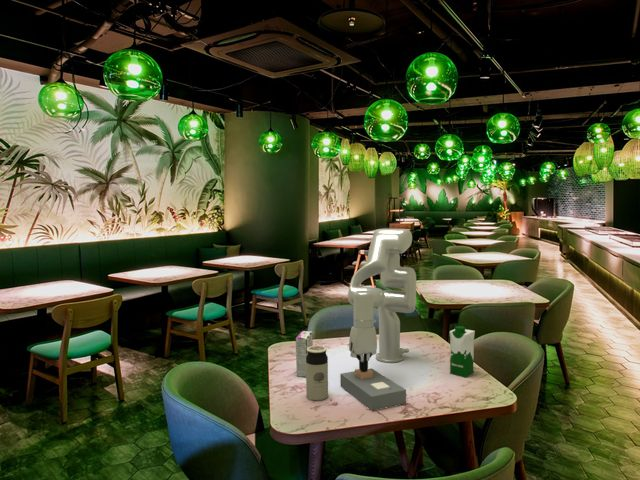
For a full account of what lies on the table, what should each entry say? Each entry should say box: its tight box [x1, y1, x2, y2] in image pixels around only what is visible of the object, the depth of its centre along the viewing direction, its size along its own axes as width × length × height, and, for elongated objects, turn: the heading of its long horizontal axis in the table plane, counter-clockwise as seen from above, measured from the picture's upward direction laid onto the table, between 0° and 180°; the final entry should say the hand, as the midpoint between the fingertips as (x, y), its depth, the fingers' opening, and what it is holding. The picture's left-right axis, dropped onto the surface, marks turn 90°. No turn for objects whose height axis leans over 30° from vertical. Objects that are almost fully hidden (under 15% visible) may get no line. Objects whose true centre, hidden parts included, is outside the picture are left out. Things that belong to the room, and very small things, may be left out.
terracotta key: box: [354, 367, 373, 380], centre depth 173 cm, size 5×5×5 cm
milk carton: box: [449, 325, 476, 378], centre depth 187 cm, size 9×9×20 cm
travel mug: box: [305, 345, 329, 401], centre depth 166 cm, size 8×8×18 cm
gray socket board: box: [339, 368, 407, 411], centre depth 167 cm, size 14×24×5 cm, turn 24°
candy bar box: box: [295, 330, 314, 378], centre depth 191 cm, size 11×5×16 cm, turn 168°
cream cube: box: [371, 382, 390, 391], centre depth 162 cm, size 5×5×5 cm
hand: (363, 370), depth 172 cm, fingers closed
